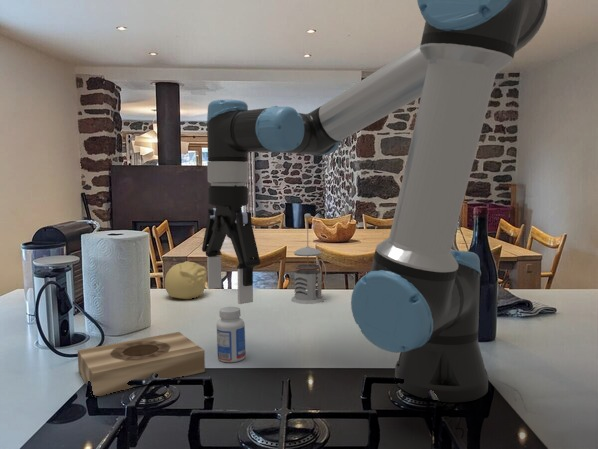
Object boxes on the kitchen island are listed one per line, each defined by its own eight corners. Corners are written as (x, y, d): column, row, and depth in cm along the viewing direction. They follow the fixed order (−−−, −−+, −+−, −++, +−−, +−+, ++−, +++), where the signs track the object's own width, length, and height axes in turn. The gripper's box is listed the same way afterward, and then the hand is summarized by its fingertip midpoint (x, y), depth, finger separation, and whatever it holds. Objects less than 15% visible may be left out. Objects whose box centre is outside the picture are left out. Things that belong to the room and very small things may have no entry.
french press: (309, 294, 149) (309, 211, 147) (336, 301, 140) (336, 213, 138) (284, 299, 143) (283, 213, 141) (310, 307, 134) (310, 215, 132)
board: (204, 371, 89) (204, 350, 89) (93, 397, 79) (92, 373, 78) (179, 351, 100) (179, 331, 100) (78, 371, 89) (77, 350, 89)
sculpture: (198, 302, 139) (197, 265, 138) (158, 301, 141) (157, 264, 140) (212, 293, 150) (211, 258, 149) (175, 292, 153) (174, 257, 152)
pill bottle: (241, 351, 99) (240, 304, 98) (248, 360, 94) (247, 311, 93) (214, 355, 97) (213, 307, 97) (220, 364, 92) (219, 314, 92)
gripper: (279, 186, 85) (279, 306, 87) (218, 183, 105) (219, 281, 107) (240, 186, 80) (241, 313, 83) (185, 183, 101) (186, 285, 103)
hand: (229, 295), depth 95 cm, fingers open, 13 cm apart
